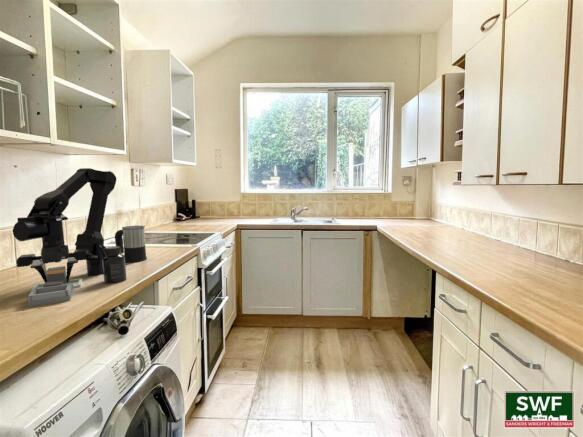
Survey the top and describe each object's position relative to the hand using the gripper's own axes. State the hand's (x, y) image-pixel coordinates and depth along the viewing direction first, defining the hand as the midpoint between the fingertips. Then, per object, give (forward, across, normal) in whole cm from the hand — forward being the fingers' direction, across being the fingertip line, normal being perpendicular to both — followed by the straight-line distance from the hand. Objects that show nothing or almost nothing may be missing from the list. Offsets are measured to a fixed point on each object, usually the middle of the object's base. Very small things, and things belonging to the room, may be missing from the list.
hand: (57, 283), depth 110 cm
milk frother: (+2, +21, +29) cm, 36 cm away
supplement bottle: (+2, +16, -2) cm, 17 cm away
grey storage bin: (+2, 0, -12) cm, 12 cm away
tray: (+2, 0, 0) cm, 2 cm away
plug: (+1, 0, 0) cm, 1 cm away
